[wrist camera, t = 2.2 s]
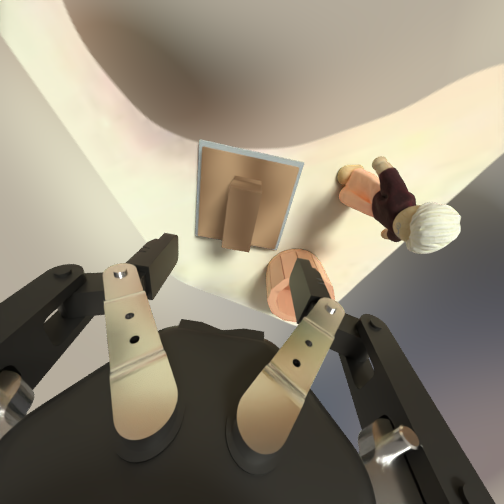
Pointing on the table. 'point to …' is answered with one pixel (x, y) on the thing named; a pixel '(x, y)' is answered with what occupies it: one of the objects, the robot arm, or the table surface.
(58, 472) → the robot arm
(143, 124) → the table surface
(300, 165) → the mat
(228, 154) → the lid
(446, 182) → the table surface
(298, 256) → the bowl
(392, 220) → the grandmother figurine
